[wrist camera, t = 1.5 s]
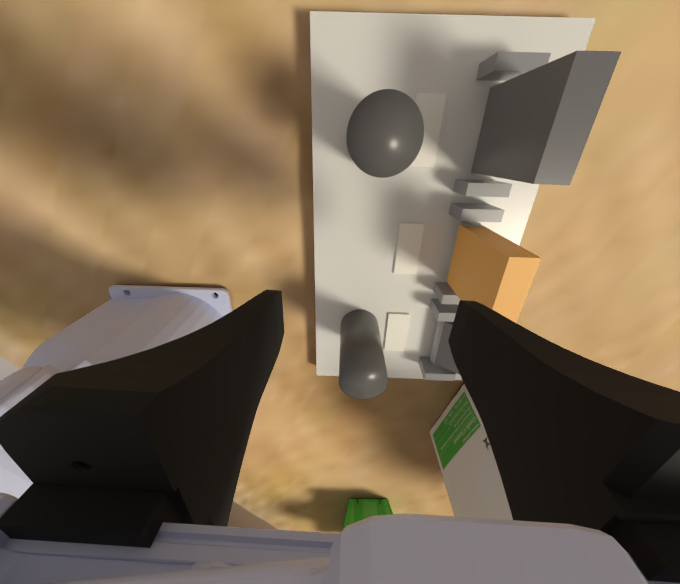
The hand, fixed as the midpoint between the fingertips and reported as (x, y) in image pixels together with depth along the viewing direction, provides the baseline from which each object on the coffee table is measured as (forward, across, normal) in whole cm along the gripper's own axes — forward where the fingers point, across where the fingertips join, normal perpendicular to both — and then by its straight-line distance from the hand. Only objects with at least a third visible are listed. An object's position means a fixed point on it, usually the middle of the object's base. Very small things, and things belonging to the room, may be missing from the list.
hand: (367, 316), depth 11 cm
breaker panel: (+10, -4, 0) cm, 11 cm away
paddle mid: (+8, -7, 0) cm, 11 cm away
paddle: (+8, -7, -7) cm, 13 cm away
